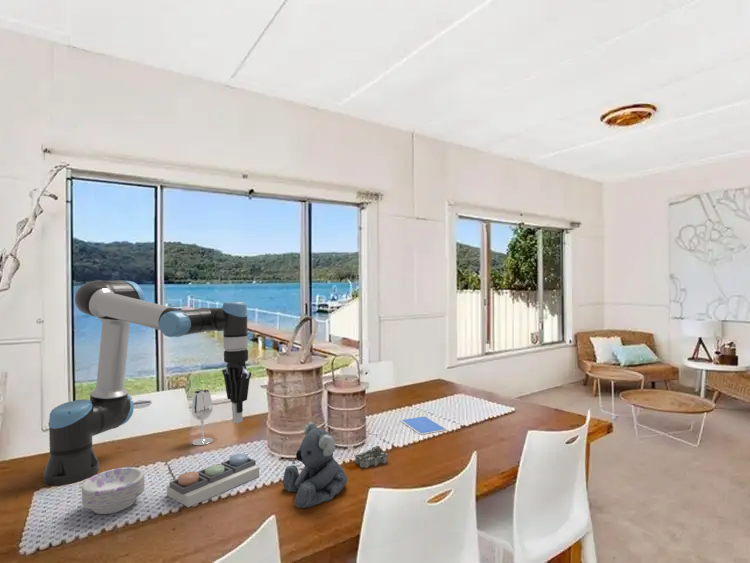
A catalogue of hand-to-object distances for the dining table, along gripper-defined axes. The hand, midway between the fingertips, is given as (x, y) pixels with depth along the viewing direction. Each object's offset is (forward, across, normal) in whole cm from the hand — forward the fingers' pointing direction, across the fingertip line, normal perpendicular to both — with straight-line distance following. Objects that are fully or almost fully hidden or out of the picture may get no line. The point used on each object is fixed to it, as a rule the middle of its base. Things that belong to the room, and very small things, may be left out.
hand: (237, 421), depth 141 cm
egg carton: (+18, -28, -34) cm, 47 cm away
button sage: (+14, 0, +8) cm, 16 cm away
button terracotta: (+13, 0, +17) cm, 21 cm away
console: (+17, 0, +8) cm, 19 cm away
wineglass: (+18, +38, -10) cm, 43 cm away
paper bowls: (+18, +12, +32) cm, 39 cm away
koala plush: (+18, -29, -8) cm, 35 cm away
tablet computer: (+18, -22, -76) cm, 81 cm away
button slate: (+13, 0, 0) cm, 13 cm away
